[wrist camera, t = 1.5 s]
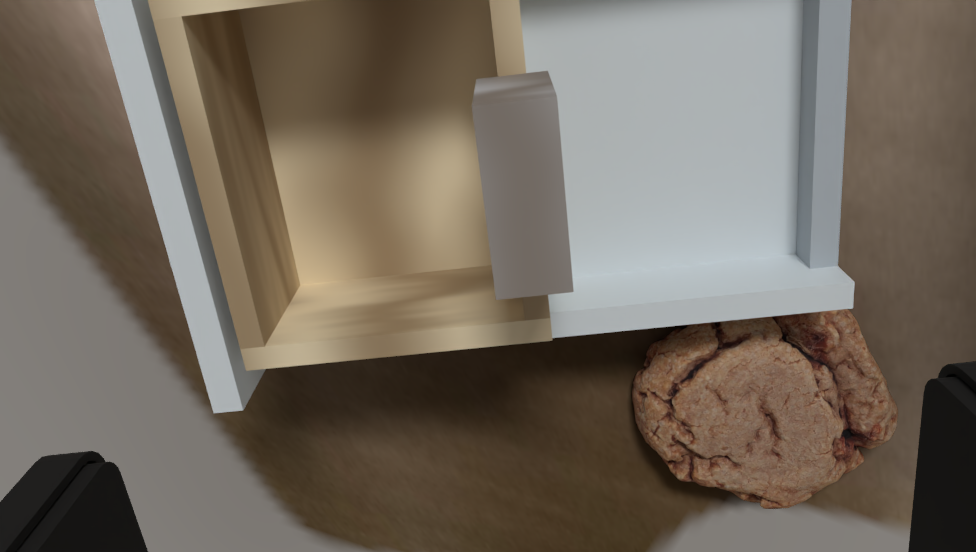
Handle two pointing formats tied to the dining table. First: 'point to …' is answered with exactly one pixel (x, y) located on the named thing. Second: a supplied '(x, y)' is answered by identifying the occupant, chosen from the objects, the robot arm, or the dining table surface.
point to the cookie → (764, 404)
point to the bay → (605, 164)
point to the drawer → (371, 173)
